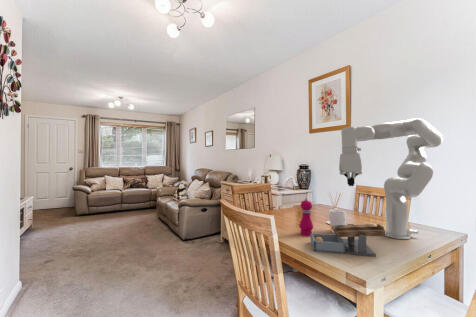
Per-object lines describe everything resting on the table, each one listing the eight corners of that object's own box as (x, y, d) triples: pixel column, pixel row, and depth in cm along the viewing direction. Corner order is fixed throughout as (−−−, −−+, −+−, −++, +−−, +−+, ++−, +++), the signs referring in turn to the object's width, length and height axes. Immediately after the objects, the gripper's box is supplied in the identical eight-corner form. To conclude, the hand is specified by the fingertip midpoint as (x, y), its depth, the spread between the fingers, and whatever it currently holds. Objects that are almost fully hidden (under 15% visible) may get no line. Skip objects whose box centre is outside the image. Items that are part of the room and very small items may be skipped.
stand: (361, 241, 114) (361, 224, 114) (375, 256, 96) (375, 236, 96) (339, 240, 116) (339, 223, 116) (350, 254, 98) (350, 234, 98)
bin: (338, 244, 110) (338, 234, 110) (345, 254, 98) (345, 243, 98) (310, 242, 113) (310, 232, 113) (314, 251, 101) (314, 241, 101)
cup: (343, 229, 133) (343, 209, 133) (348, 234, 124) (349, 212, 124) (327, 229, 134) (327, 209, 134) (331, 234, 125) (331, 212, 125)
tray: (372, 226, 111) (371, 219, 111) (385, 236, 97) (385, 227, 97) (331, 227, 115) (330, 220, 115) (338, 237, 100) (337, 229, 101)
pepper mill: (297, 232, 128) (297, 196, 128) (309, 232, 128) (310, 196, 129) (302, 236, 121) (302, 199, 121) (315, 236, 121) (315, 198, 121)
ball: (319, 245, 107) (324, 238, 107) (321, 249, 103) (325, 241, 103) (312, 241, 108) (316, 234, 108) (313, 244, 104) (317, 236, 104)
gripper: (362, 150, 122) (363, 184, 122) (333, 151, 124) (334, 185, 124) (368, 150, 114) (369, 186, 114) (336, 151, 117) (337, 186, 117)
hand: (351, 185), depth 119 cm, fingers closed
